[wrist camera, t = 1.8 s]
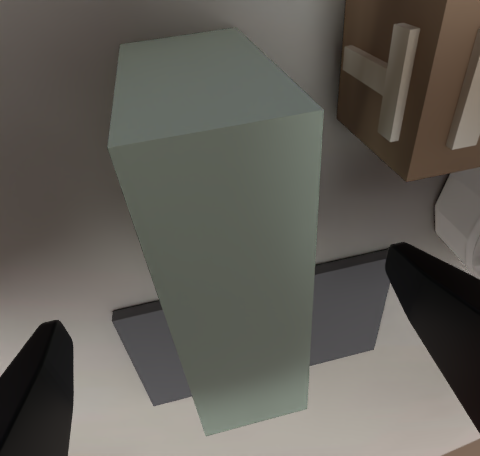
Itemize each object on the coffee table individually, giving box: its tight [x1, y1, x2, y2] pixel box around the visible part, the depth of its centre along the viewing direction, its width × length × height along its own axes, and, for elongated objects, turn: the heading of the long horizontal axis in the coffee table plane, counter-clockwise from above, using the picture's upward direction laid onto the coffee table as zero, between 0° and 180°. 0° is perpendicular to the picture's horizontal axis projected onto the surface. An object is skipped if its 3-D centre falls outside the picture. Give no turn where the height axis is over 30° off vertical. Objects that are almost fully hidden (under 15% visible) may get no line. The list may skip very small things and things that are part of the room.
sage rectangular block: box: [107, 27, 324, 436], centre depth 10 cm, size 9×3×6 cm, turn 5°
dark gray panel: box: [112, 249, 390, 406], centre depth 18 cm, size 7×12×1 cm, turn 95°
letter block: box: [337, 0, 480, 182], centre depth 9 cm, size 4×4×4 cm
